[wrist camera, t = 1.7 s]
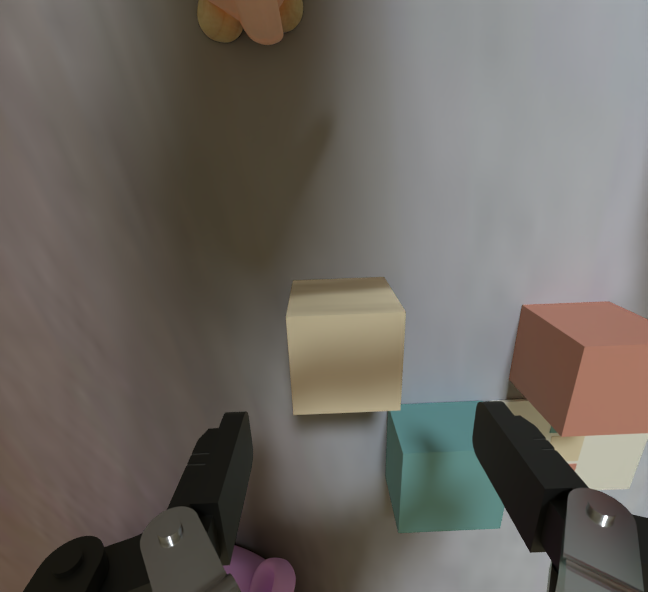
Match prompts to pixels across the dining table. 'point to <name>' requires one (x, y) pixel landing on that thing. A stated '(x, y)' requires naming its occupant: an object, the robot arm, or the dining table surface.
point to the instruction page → (590, 450)
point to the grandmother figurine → (249, 19)
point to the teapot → (260, 572)
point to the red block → (584, 367)
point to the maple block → (345, 346)
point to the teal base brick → (438, 470)
